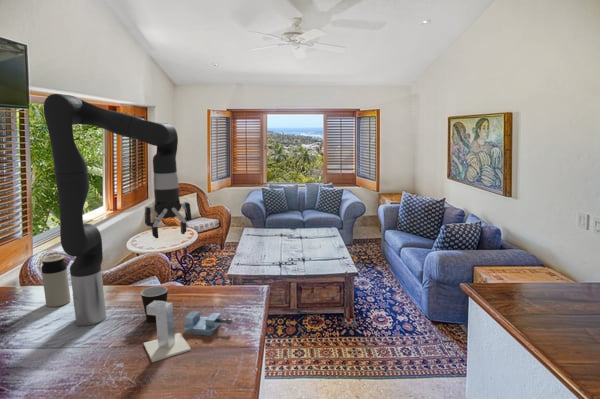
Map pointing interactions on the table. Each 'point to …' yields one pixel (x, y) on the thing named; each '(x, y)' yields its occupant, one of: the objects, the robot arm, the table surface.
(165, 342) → the brushed aluminum pillar
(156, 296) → the coffee mug
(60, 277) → the travel mug
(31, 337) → the table surface
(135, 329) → the table surface
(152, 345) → the felt pad
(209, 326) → the vise
